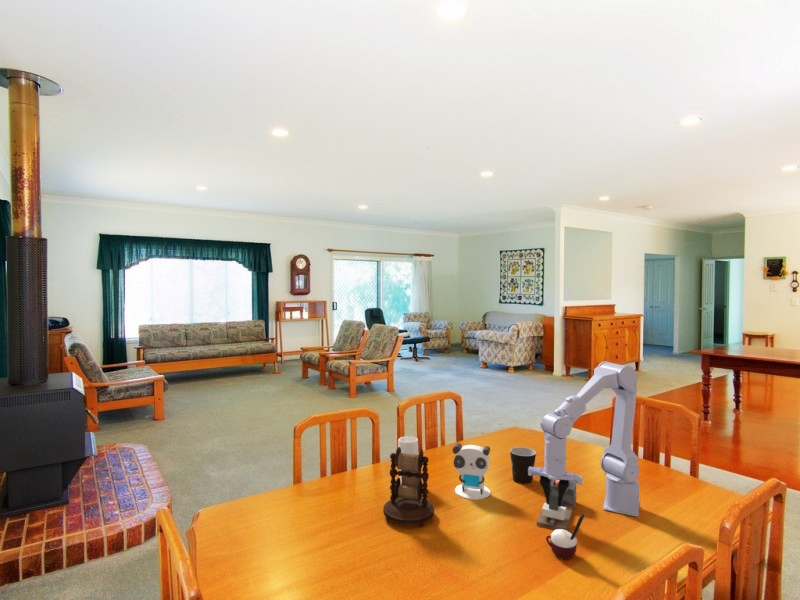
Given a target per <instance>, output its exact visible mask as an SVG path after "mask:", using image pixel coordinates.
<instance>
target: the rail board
mask: <svg viewBox="0 0 800 600" xmlns="http://www.w3.org/2000/svg"><path fill="white" fill-rule="evenodd" d="M550 492H555V493H559V492H558V486H556V485H555V480H551V486H550ZM544 503H547V502H546V501H544ZM576 503H577V483H572V482H569V485H568V487H567V489H566V491H565V493H564V495H563V498H562V504H561V506H562V507H566V516H565V519H564V520H560V519H555V518H551V517H546V516H542V510H541V511H540V513H539V516H538V518H537V520H536V526H538V527H542V528H548V529H552V530H556V529H563V530H566V531H568V529H569V525H570V522H571V520H572V515H573V512H574V509H575V505H576Z"/></svg>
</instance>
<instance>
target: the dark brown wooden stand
mask: <svg viewBox="0 0 800 600" xmlns="http://www.w3.org/2000/svg"><path fill="white" fill-rule="evenodd" d="M389 458H390V462H391V465H390V470H389V476H390V478H391V479H390V486H389V490H390V494H391V495H390V497H389V500H387V501H386V502H385V503H384V505H383V508H382V509H383V516H385V518H386V522H388V523H390V521H391V522H393V523H396V524H401V525H419V527H420V528H422V527H423V525H424V523H425V522H427V521H430V520H431V519H432V518H433V517H434V515H435V506H434V504H433V503H432V502H431V501H429V500H428V499H427V498H428V494H429V489H428V480H429V477H430V475H429V472H428V471H429V469H428V464H429V457H428V456H426V455H425V456H424V450H423V449H421V448H420V450H419V451H418V455H417V454H408V453H401V448H400V447H398V446H397V448H396V451H395V452H391V453H390V455H389ZM396 468H397V469H398V470H397V469H396ZM400 469H401V471H400ZM397 476H399V477H398V478H397V479H396V477H397ZM400 476H402V484H401V482H400Z"/></svg>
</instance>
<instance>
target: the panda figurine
mask: <svg viewBox="0 0 800 600" xmlns="http://www.w3.org/2000/svg"><path fill="white" fill-rule="evenodd" d="M452 453H453V454H455V456H454V457H453V458H454V459H453V466H454V469H455V471H456V472H457V473H458V474H459V476H458V479H459V481H460V482H461V484H458V485H456V487H455V489H454V493H455V494H456V495H457V496H458V497H461V498H463V499H466V500H471V501H472V500H473V501H479V499H480V500H484V498H485V499H487V498H488V496H489V495H490V496H491V490H490V489H489V488H488V487H487V486H485V475H486V474H487V471H488V469H489V467H490V464H491V463H490V456H489V455H490V453H491V447H490V446H488V445H486V446H484V447H482V446H479V445H475V444H465V445H463V444H461V442H457V443H456V444H455V445H454V446H453V448H452ZM486 497H487V498H486Z"/></svg>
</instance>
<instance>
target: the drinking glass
mask: <svg viewBox="0 0 800 600" xmlns="http://www.w3.org/2000/svg"><path fill="white" fill-rule="evenodd" d="M398 447H400V448H401V453H408V454H417V455H419V439H418V438H417V437H415V436H411V435H410V436H408V435H406V436H405V435H404V436H401V437H399V438H398V440H397V448H398ZM399 471H401V469H399ZM399 478H400V482H401V485H402V476H399Z"/></svg>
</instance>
